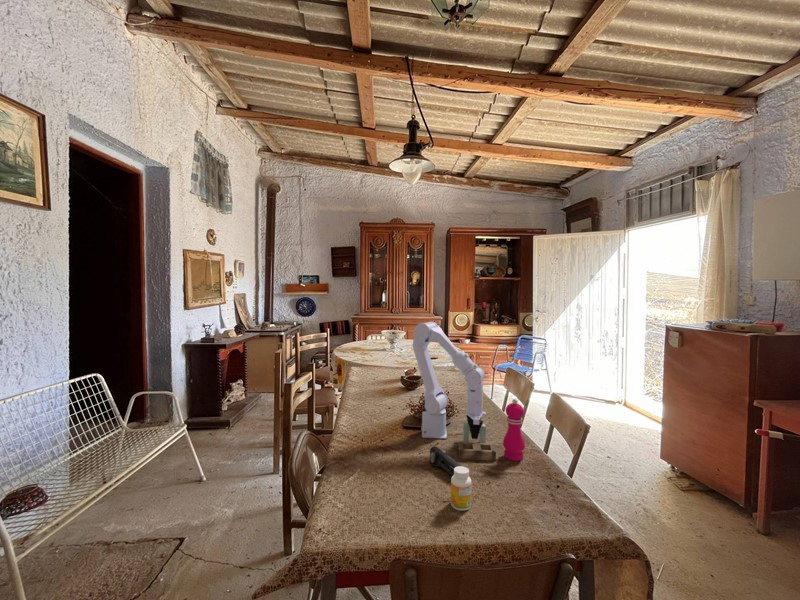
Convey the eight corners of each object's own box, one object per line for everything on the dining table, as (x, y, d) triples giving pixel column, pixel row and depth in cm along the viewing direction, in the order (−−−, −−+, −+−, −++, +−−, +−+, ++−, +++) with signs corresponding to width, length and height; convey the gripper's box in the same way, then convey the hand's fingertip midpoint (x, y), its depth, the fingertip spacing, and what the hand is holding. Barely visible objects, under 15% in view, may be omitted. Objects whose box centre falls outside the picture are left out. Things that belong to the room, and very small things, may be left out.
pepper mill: (524, 453, 131) (526, 397, 130) (524, 463, 124) (526, 403, 123) (503, 450, 133) (504, 395, 132) (502, 459, 126) (503, 401, 125)
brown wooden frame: (459, 458, 127) (459, 449, 126) (458, 450, 133) (458, 441, 133) (495, 460, 125) (495, 451, 125) (493, 452, 132) (493, 443, 132)
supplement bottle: (448, 499, 103) (449, 465, 102) (468, 499, 103) (468, 464, 103) (453, 511, 97) (453, 475, 97) (473, 510, 98) (474, 474, 97)
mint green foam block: (463, 444, 138) (463, 425, 138) (462, 440, 141) (463, 422, 141) (485, 445, 137) (485, 426, 137) (484, 441, 140) (484, 423, 140)
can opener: (424, 462, 124) (424, 445, 124) (441, 457, 128) (442, 441, 127) (455, 488, 109) (455, 469, 108) (474, 482, 112) (474, 464, 112)
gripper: (488, 407, 131) (487, 445, 131) (483, 395, 145) (482, 429, 146) (467, 406, 131) (467, 444, 132) (465, 394, 146) (464, 428, 146)
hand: (474, 436), depth 139 cm, fingers closed on mint green foam block, 3 cm apart
